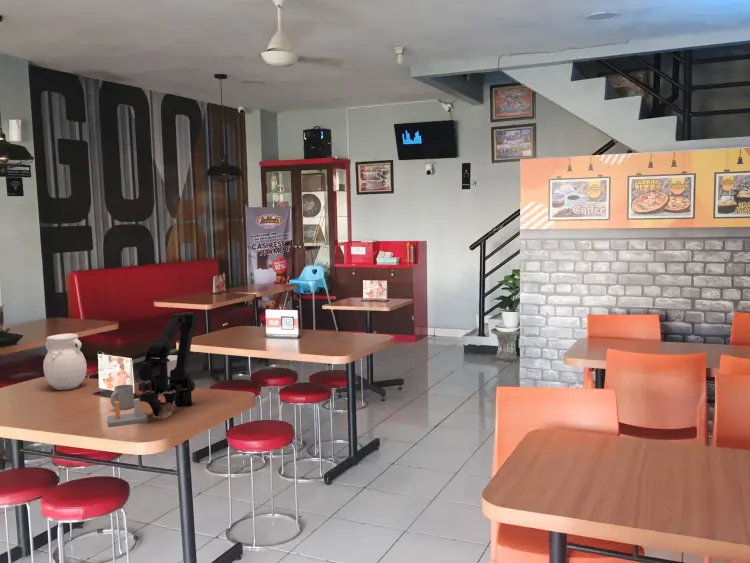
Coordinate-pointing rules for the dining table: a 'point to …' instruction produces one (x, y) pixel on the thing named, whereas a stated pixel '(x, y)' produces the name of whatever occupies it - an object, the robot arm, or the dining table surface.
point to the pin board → (127, 416)
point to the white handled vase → (64, 361)
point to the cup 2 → (171, 363)
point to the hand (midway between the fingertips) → (162, 413)
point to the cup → (123, 397)
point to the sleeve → (164, 410)
